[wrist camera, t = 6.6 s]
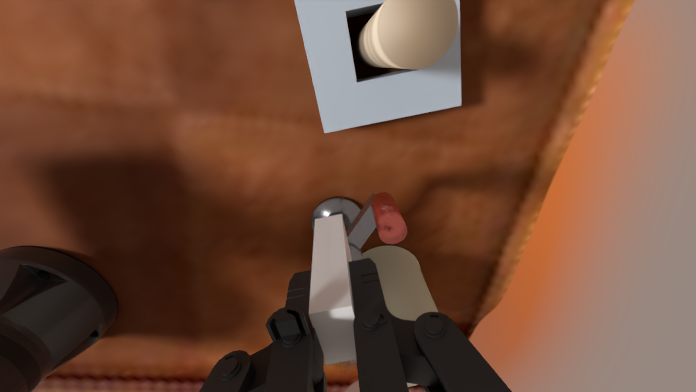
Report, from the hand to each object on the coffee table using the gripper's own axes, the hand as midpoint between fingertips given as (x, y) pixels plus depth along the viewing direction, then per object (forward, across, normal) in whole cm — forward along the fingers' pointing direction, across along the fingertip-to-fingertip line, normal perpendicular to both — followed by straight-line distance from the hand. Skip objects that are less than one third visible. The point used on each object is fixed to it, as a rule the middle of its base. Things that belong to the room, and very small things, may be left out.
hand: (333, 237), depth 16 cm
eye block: (+15, +6, +9) cm, 19 cm away
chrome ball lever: (+9, +1, -5) cm, 10 cm away
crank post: (+15, -1, -8) cm, 17 cm away
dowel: (+15, +6, +9) cm, 19 cm away
